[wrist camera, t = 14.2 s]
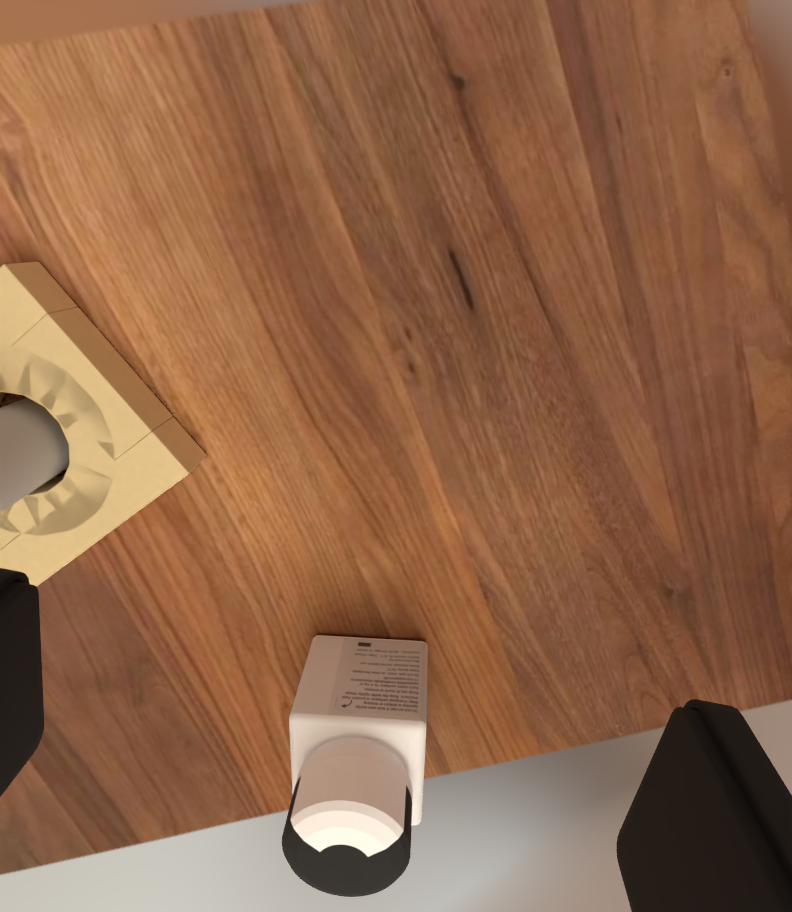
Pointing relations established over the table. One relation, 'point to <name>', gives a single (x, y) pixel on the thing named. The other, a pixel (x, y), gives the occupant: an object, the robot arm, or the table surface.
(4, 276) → the socket pad
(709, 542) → the table surface
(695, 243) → the table surface
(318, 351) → the table surface
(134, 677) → the table surface
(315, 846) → the container
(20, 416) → the beverage can
